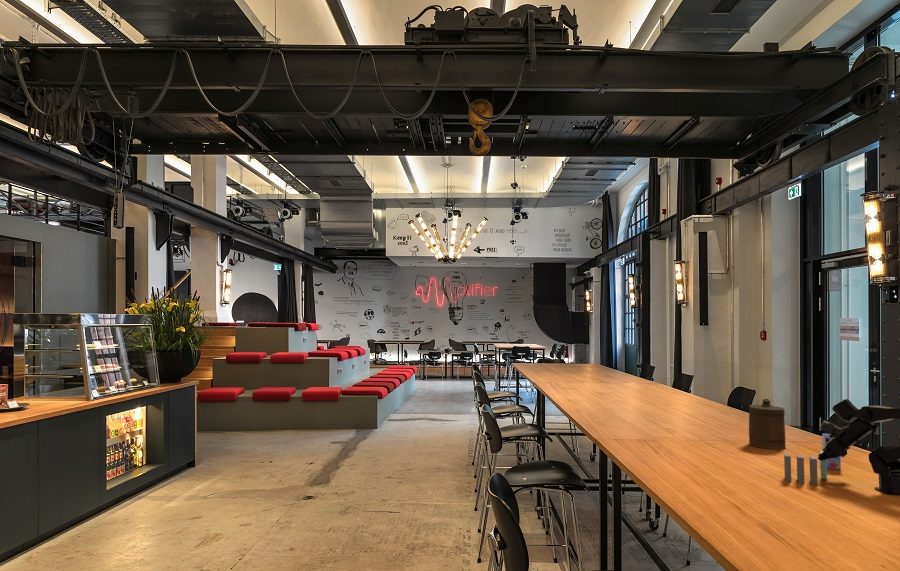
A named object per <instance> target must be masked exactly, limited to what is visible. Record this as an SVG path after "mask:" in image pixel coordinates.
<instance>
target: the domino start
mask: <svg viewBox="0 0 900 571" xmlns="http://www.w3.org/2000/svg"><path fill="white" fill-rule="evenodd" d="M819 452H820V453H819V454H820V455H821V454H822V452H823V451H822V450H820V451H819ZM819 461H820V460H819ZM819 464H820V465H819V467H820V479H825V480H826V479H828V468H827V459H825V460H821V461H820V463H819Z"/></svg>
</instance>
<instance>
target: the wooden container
mask: <svg viewBox="0 0 900 571" xmlns="http://www.w3.org/2000/svg"><path fill="white" fill-rule="evenodd" d="M771 401H772V400H770V399H769V398H763V399H762V403H761V404H750V405H749V406H748V412H749V413H748V436H749V437H748V440H749V441H748V442H749V446H752V447H754V446H755V448H758V447H759V449H764V448H765V450H774V449H780V450H784V449H787V448H786V447H787V446H786V426H785V425H786V424H785V414H786V412H785V408H784V407H781V406H775V405H772V404H771Z"/></svg>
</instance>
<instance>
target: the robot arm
mask: <svg viewBox="0 0 900 571" xmlns="http://www.w3.org/2000/svg"><path fill="white" fill-rule="evenodd" d="M832 412H834V414H835V415H837V416H838V417H839V418H840V419H841V420H842V421H843V423H849V424H847V425H846V426H844V425H843V426H842V427H839V426H838V425H836V424H834V423H831V422H829V421H827V420H823V422H822V423H821V425H820V427H819V429H820V430H821V431H822V432H826V433H827V434H830V435H829V437H831V439H829V438H827V445H826V446H825V447H824V449H823V450H822V449H821V451H823V452H822V454H821V455H820V453H818V455H817V456H818V457H817V460H818V461H821V460H825V459H830V458H835V457H842V458H844V457H846V456H847V455H848V450H849V449H850V448H851V447H852V446H853V445H855V444H856V443H859V442H860V440H861V439H863V438H864V437H866V436H867V435H868V434H870V433H872V432H873V433H874V434H875V435H877V436H878V435H880V426H878V425H874V424H873V423H882V422H888V421H892V420H895V419H896V420H900V407H889V406H884V405H864V406H862V407H861V408H857V407H856V406H855V405H854V404H853V403H852V402H851V400H850V399H848V398H847V399H843V400H842V401H839V402H838V403H836V404H834V405H833V407H832ZM868 461H869V464H870V465H871V468H872V470H873V473H874V474H878V487H877V486H876V487H875V486H874V490H876V491H878V492H880V493H883V494H885V495H897V496H898V495H900V445H898V446H896V447H895V445H894V444H890V445H889V444H888V445H881V446H879V447H877V448H876V449H871V452H869V454H868Z"/></svg>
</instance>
